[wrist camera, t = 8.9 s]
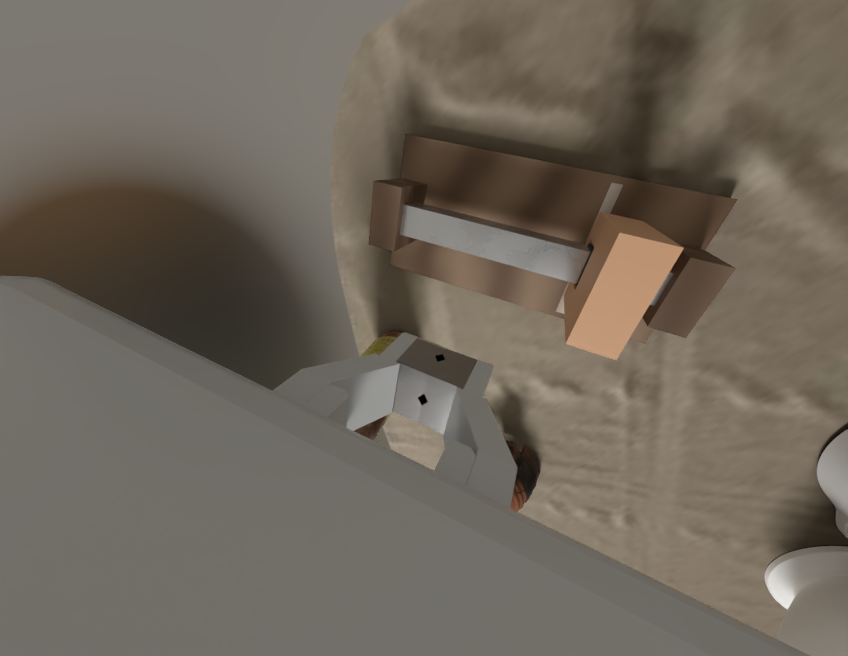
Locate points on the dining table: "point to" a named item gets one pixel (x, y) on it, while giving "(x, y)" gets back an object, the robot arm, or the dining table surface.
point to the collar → (616, 283)
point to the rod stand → (538, 228)
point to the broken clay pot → (523, 475)
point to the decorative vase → (812, 599)
